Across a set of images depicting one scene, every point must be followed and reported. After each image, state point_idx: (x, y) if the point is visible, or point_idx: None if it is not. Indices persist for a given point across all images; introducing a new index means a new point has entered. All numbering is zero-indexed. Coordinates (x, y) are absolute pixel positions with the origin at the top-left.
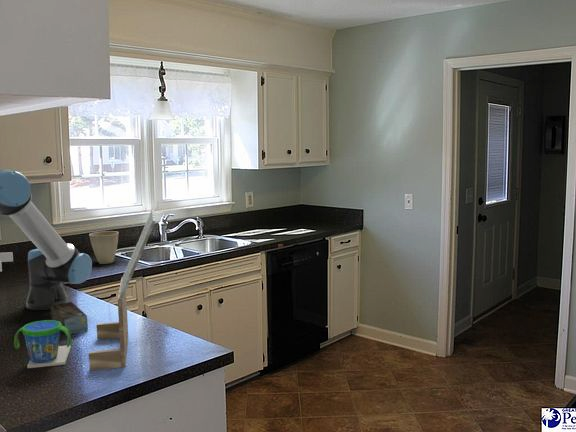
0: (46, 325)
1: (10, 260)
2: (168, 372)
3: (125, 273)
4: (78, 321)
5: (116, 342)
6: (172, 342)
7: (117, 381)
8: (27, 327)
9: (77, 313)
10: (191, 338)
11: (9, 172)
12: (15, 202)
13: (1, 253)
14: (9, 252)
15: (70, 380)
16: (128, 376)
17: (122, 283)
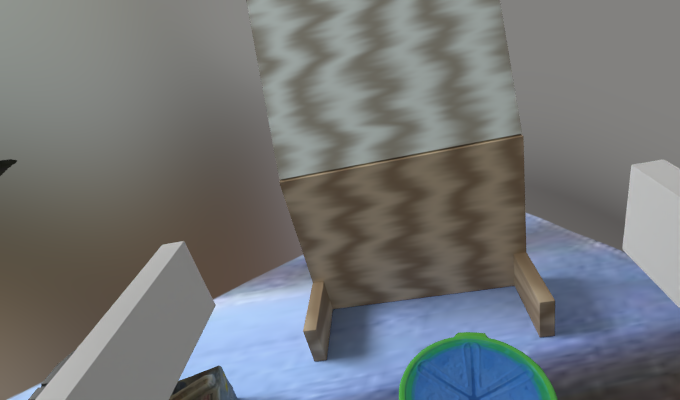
0: (446, 388)
1: (206, 309)
2: (546, 222)
3: (335, 142)
4: (226, 395)
5: (361, 318)
6: None
7: (611, 276)
8: None
9: (197, 387)
10: None
11: None
12: None
13: (136, 309)
14: (162, 256)
15: (634, 365)
16: (577, 265)
17: (394, 147)
